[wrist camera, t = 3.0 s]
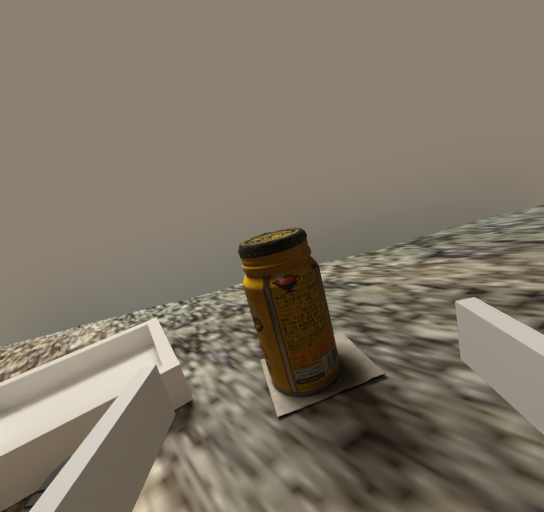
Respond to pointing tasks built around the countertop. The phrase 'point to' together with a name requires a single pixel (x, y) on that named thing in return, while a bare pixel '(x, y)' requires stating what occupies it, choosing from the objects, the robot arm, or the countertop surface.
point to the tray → (73, 403)
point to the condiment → (297, 323)
